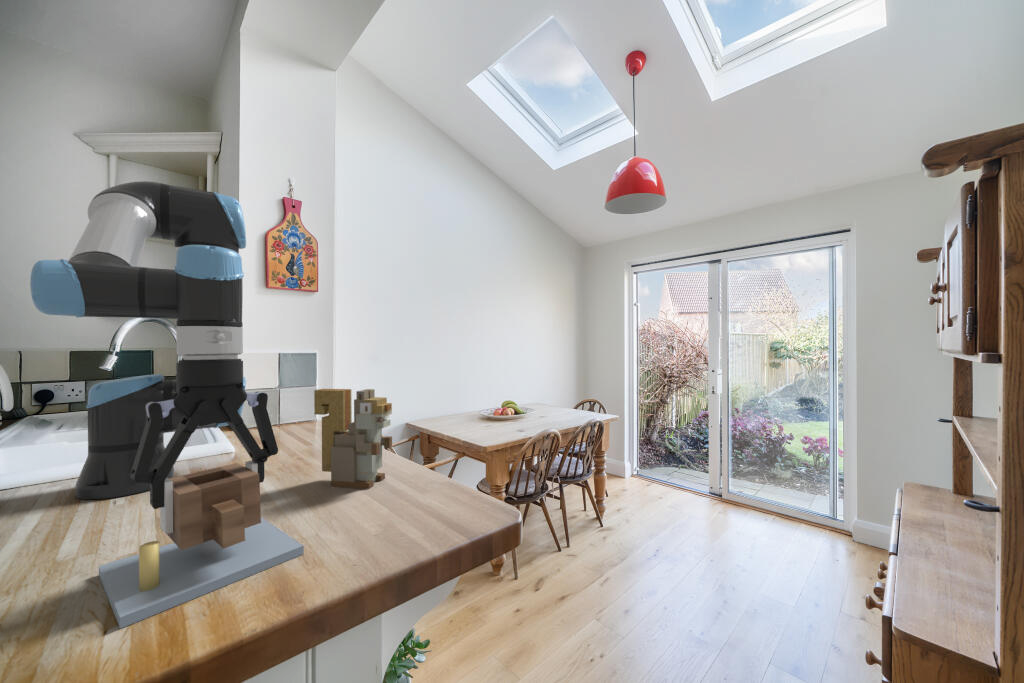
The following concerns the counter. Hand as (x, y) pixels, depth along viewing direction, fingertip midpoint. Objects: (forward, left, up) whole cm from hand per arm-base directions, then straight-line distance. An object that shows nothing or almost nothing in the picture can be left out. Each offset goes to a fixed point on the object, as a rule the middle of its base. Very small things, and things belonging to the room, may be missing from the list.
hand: (212, 517), depth 56 cm
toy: (-13, +29, -6) cm, 32 cm away
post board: (+1, -1, -6) cm, 6 cm away
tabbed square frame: (+2, 0, -1) cm, 2 cm away
